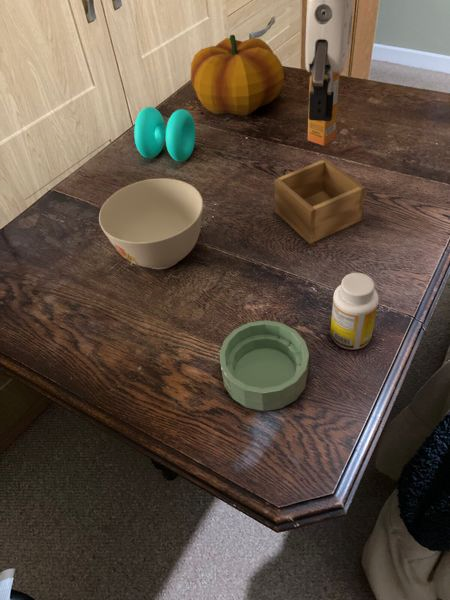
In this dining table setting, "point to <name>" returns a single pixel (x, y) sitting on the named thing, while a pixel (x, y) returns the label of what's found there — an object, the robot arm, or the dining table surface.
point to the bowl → (153, 221)
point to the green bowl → (264, 365)
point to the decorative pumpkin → (236, 76)
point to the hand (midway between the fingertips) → (323, 109)
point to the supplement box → (325, 129)
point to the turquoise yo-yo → (165, 133)
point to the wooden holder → (318, 200)
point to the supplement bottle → (354, 311)
